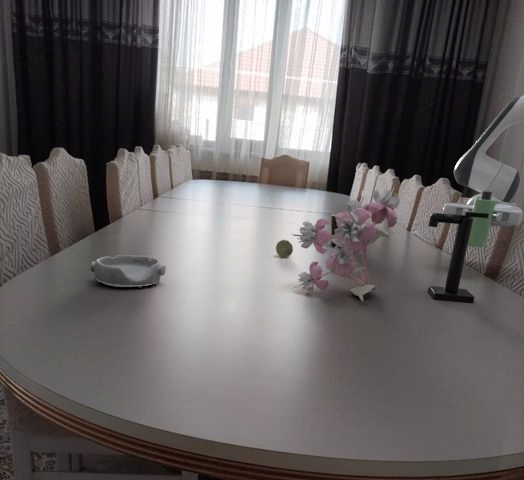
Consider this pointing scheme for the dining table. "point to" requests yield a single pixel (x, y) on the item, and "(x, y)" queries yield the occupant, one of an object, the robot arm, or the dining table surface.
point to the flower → (348, 241)
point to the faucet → (455, 256)
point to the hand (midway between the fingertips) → (482, 216)
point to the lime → (284, 248)
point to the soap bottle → (481, 220)
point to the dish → (128, 270)
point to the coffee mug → (333, 227)
